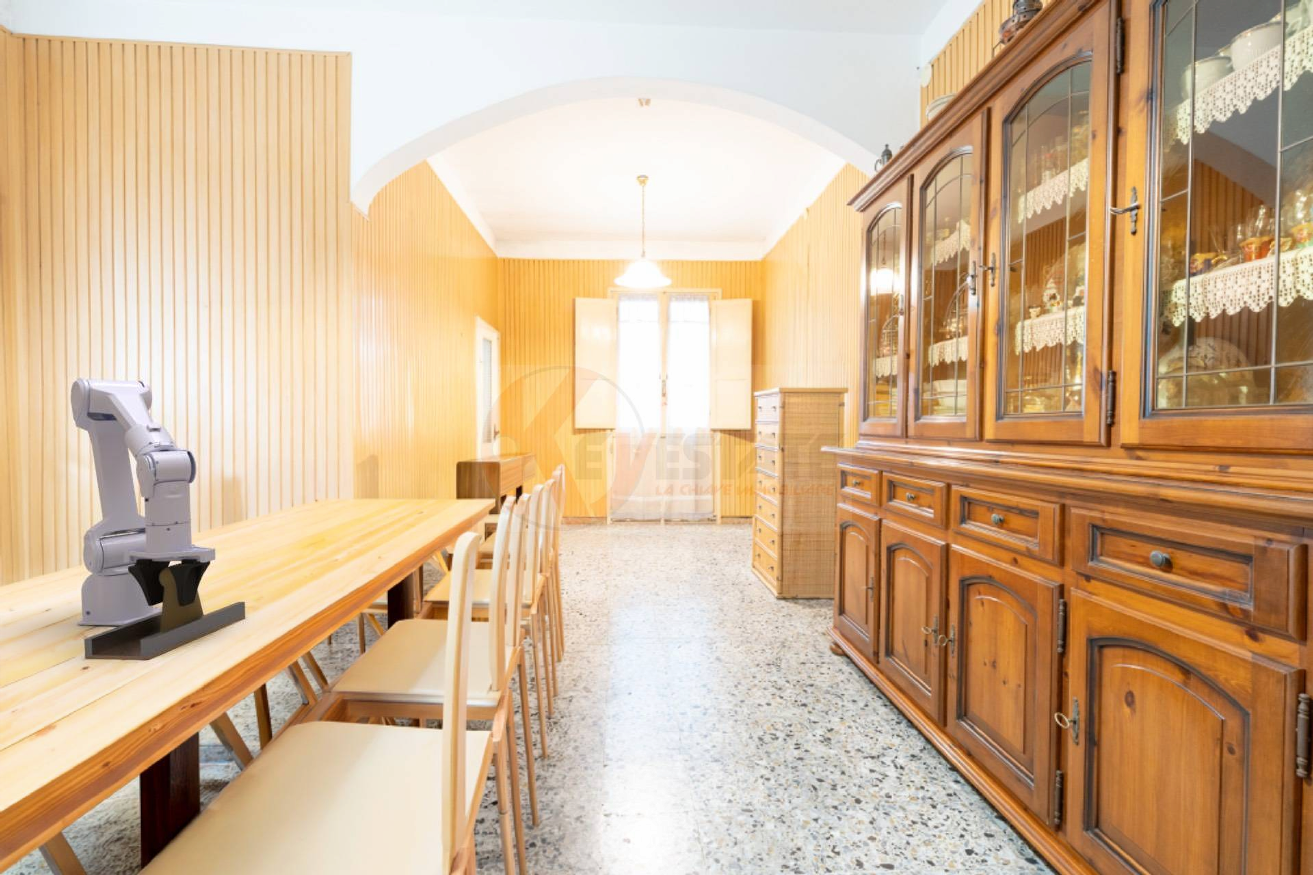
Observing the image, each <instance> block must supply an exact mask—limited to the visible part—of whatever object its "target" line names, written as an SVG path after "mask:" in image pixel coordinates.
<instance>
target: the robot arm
mask: <svg viewBox="0 0 1313 875" xmlns="http://www.w3.org/2000/svg"><path fill="white" fill-rule="evenodd" d="M70 388H71V389H70V404H71V411H72V412H71V413H72V418H73V420H74V422H75V426H76V427H77V428H79V429H81V430H84V431H87V433H88V437H89V440H90V444H91V449H92V456H93V462H94V469H95V476H96V482H97V490H98V494H99V500H100V502H99V503H100V509H101V515H102V519H101V520H100V521H98V522H97V523H96V524H94V525H92V527H90V528H88V530H86V532H85V534H84V535H83V549H82V550H83V551H82V557H83V563H84V567H85V568H86V570H87V571H88V572H90V575H88V576H87V577H86V578H85V580H83V583H82V586H81V590H80V591H81V615H82V616H81V617H82V618H81V619H82V620H80V621H78V622H77V623H76V625H78V626H122V625H125V624H128V623H131V622H134V621H137V620H140V619H142V618H145V617H148V616H151V615H154V614H157V613H159V612H162V607H161V608H159V607H154V606H156V605H159V604H163V595H164V586H162V585H161V584H160V581H159V575H160V573H161V571H162V570H163V569H165V568H167V567H169V569H170V571H171V573H172V575H173V577H174V580H175V583H176V587H177V597H178V603H179V606H186V605H189V604H191V603H194V601H195V597H196V593H197V590H198V589H199V587H200V583H201V580H202V578H203V576H204V574H205V573H206V571H207V569H208V567H210V565H211V562H212V561H214V560H216V548H214V547H202V546H196V544H194V543H192V525H191V524H192V521H191V520H192V519H191V514H192V513H191V491H190V490H191V489H190V488H191V486H190V484H192V483H193V482H194V481H195V479H196V476H197V461H196V458H195V456H194V453H193V452H192V450H190V449H186V448H184V447H178V445H177V444H176V442H175V441H174V440H173V438H172V436H171V434H170V433H169V432H168V430H167V428H166V427H165V426H163V424H159V423H155V422H154V420H153V418H152V416H151V413H150V412H149V410H150V409H151V406H152V404H153V393H152V389H151V386H150V385H149V384H148V383H147V382H146V381H144V380H137V381H135V380H134V381H133V380H111V379H92V378H89V379H88V378H84V377H79V378H77V379H76V380H75V381H73V383H72V386H71V387H70ZM130 453H131V455H132V457H133V459H134V460H135V462H136V467H135V472H136V473H135V474H136V479H137V481H138V485H139V493H140V496H141V497H142V498H143V500H144V516H143V515H141V514H139V510H138V502H137V497H136V496H137V495H136V492H135V491H136V490H135V483H134V478H133V471H132V465H131V464H132V463H131V459H130ZM171 562H180V563H177V564H176V563H175V564H171V565H170V563H171ZM198 591H199V590H198Z"/></svg>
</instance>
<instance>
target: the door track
mask: <svg viewBox="0 0 1313 875" xmlns="http://www.w3.org/2000/svg"><path fill="white" fill-rule="evenodd" d="M161 615H162V612H159V613H157V614H154V615H151V616H148V617H145V618H142V619H140V620H137V621H134V622H131V623H128V624H125V625H119V626H117V627H115V628H112V629H109V630H105V631H103V632H100V633H97V634H94V635H91V636H89V637H86V638H84V639H83V642H84V659H89V660H90V659H94V660H95V659H98V660H99V659H100V660H103V659H104V660H105V659H106V660H144V661H145V660H146V661H147V660H151V659H153V658H156V657H159V656H160V655H163V654H165V653H167V652H169V651H172V650H174V649H177V648H179V647H181V646H182V647H183V645H186V644H189V643H191V642H193V641H195V640H197V639H199V638H202V637H204V636H207V635H209V634H212V633H214V632H217V631H219V630H221V629H223V628H226V627H228V626H230V625H233V624H236V623H237V622H239V621H242V620H244V619H246V602H245V601H236V602H234V603H232V604H229V605H227V606H224V607H222V608H219V609H217V610H214V611H212V612H211V611H210V612H208V613H206V614H204V615H203V616H200V617H198V618H195V619H193V620H190V621H188V622H185V623H182V624H180V625H177V626H175V627H172V628H170V629H167V630H164V631H162V632H160V625H161Z"/></svg>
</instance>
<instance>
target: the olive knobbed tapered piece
mask: <svg viewBox="0 0 1313 875" xmlns="http://www.w3.org/2000/svg"><path fill="white" fill-rule="evenodd" d="M159 581H160V584H161V585H162V586H164V595H163V602H162V607H161V608H162V615H161V625H160V632H162V631H164V630H167V629H170V628H172V627H175V626H177V625H180V624H182V623H185V622H188V621H190V620H193V619H195V618H198V617H200V616H203V615H205V614H204V611H203V607H202V606H203V605H202V603H201V599H200V594H199V590H197V593H196V597H195V601H194V603H191V604H189V605H186V606H179V603H178V597H177V587H176V583H175V580H174V577H173V575H172V573H171V571H170V569H169V567H167V568H165V569H163V570H162V571H161V573H160V575H159Z"/></svg>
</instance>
